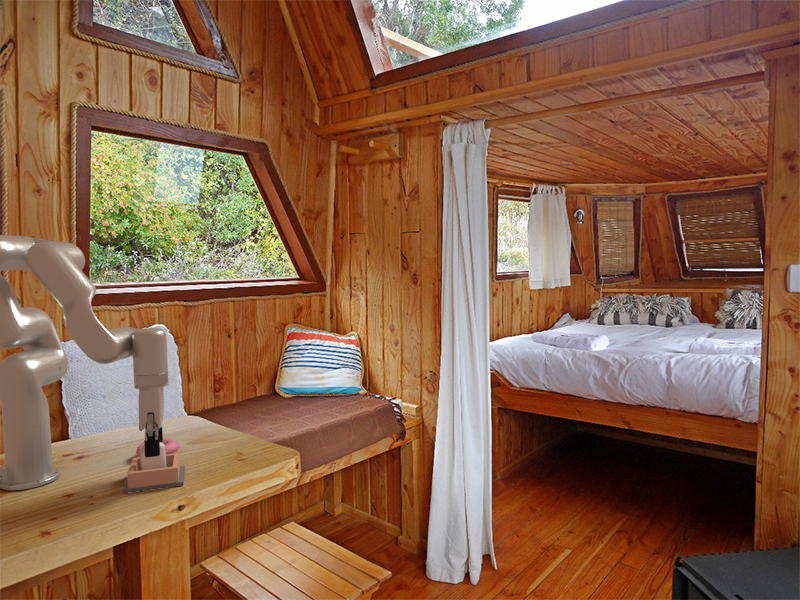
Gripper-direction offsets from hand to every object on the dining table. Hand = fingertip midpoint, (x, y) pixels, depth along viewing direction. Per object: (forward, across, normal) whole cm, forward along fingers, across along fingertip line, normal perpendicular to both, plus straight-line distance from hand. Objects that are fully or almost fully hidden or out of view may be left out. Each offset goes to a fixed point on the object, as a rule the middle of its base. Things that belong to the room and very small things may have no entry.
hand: (154, 449), depth 135 cm
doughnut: (+8, -18, -1) cm, 20 cm away
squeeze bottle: (+7, 0, 0) cm, 7 cm away
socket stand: (+8, 0, 0) cm, 8 cm away
